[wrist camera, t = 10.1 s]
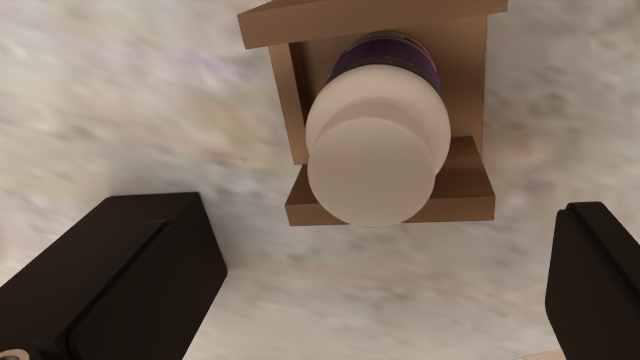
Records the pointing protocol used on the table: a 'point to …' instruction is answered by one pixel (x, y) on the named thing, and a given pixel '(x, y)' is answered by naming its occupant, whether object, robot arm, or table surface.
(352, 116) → the pill bottle
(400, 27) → the holder
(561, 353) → the milk
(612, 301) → the robot arm
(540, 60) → the table surface
